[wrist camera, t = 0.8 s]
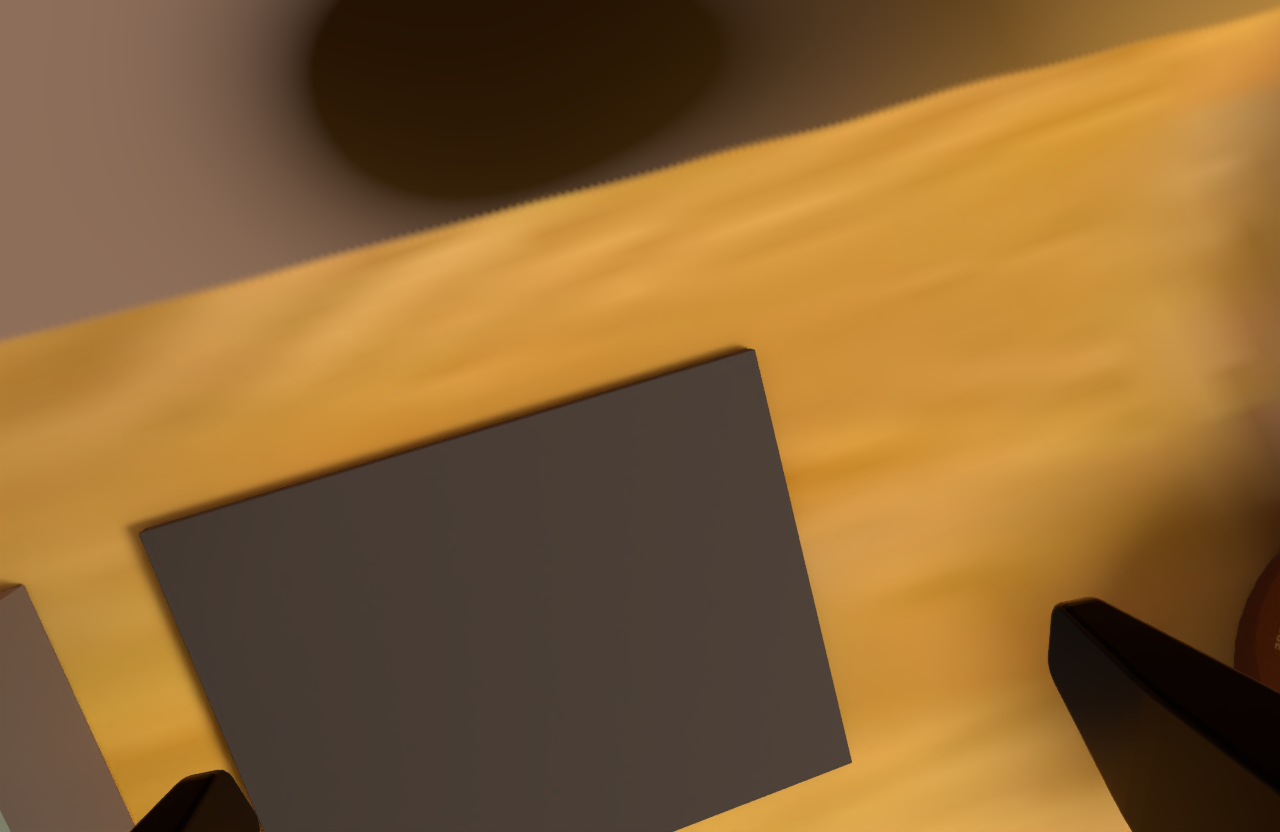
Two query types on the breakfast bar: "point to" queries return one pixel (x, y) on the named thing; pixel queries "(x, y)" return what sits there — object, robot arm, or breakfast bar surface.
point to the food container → (1261, 630)
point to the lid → (3, 824)
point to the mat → (519, 623)
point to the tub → (47, 737)
